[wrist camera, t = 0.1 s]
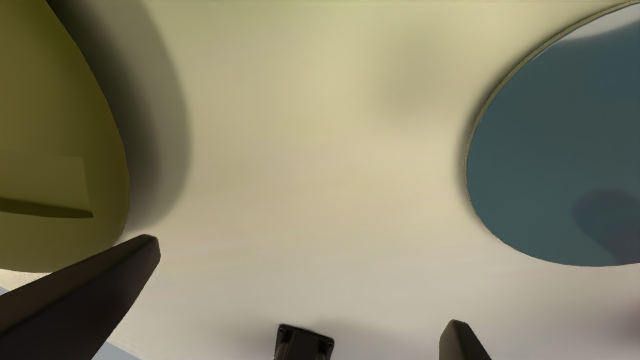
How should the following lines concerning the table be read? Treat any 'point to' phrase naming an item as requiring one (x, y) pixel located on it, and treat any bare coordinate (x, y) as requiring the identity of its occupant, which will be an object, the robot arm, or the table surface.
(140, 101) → the table surface
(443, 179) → the table surface
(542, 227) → the plate
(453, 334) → the robot arm
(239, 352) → the table surface
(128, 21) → the table surface
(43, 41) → the spaceship
